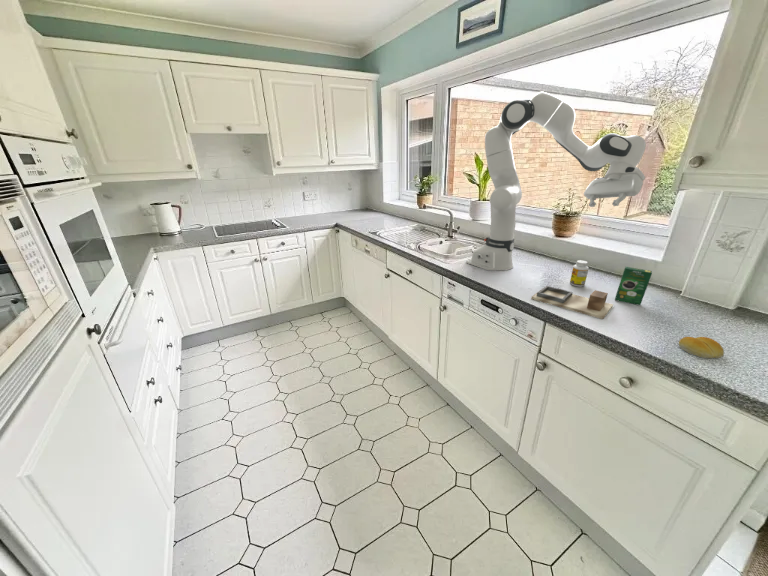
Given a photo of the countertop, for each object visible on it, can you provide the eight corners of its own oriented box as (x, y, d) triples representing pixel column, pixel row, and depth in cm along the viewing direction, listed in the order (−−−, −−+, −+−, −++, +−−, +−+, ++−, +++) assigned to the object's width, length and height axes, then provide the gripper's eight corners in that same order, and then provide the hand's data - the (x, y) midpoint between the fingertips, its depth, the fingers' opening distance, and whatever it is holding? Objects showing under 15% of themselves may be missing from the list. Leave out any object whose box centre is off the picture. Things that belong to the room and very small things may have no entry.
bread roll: (670, 342, 94) (675, 331, 92) (704, 344, 93) (709, 332, 91) (692, 359, 86) (698, 347, 84) (729, 361, 85) (735, 348, 83)
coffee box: (641, 303, 117) (652, 269, 112) (641, 306, 115) (652, 272, 110) (615, 298, 122) (624, 265, 117) (614, 300, 120) (624, 268, 115)
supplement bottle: (568, 281, 138) (574, 258, 134) (583, 283, 136) (589, 260, 132) (570, 285, 134) (575, 262, 130) (585, 287, 132) (591, 264, 128)
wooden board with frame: (531, 298, 123) (533, 284, 120) (544, 289, 131) (546, 275, 129) (602, 319, 107) (607, 303, 104) (612, 306, 115) (617, 291, 113)
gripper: (589, 174, 136) (574, 202, 136) (642, 167, 118) (625, 199, 117) (597, 182, 139) (582, 210, 139) (650, 176, 120) (633, 208, 120)
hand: (602, 205), depth 128 cm, fingers open, 8 cm apart
